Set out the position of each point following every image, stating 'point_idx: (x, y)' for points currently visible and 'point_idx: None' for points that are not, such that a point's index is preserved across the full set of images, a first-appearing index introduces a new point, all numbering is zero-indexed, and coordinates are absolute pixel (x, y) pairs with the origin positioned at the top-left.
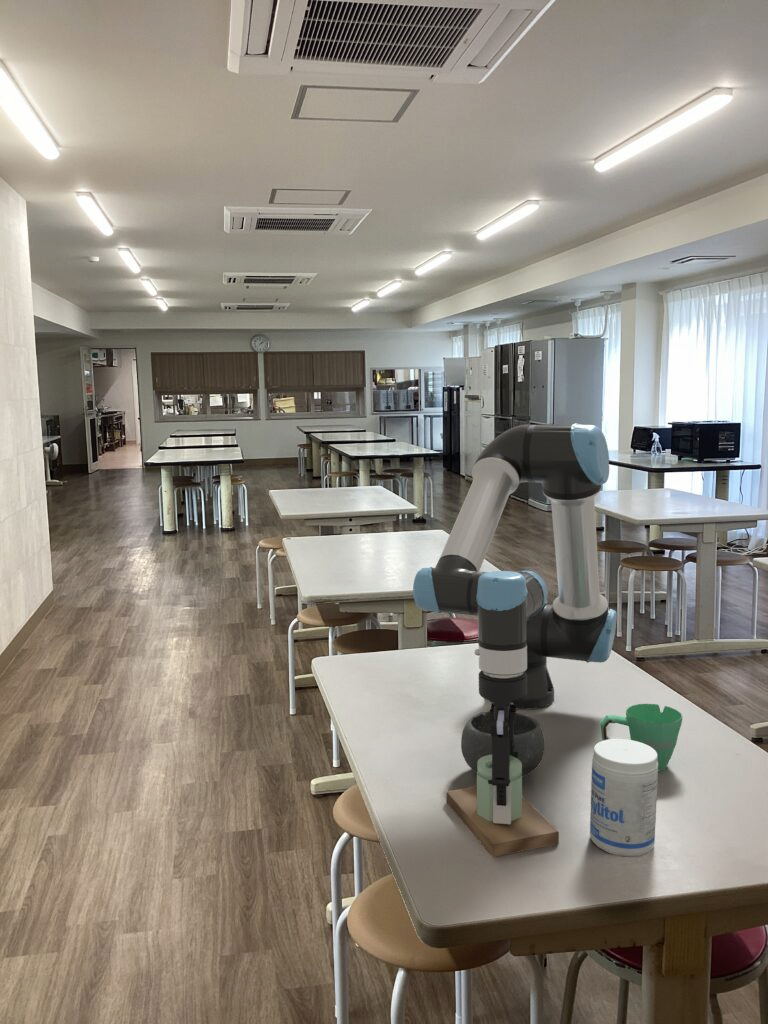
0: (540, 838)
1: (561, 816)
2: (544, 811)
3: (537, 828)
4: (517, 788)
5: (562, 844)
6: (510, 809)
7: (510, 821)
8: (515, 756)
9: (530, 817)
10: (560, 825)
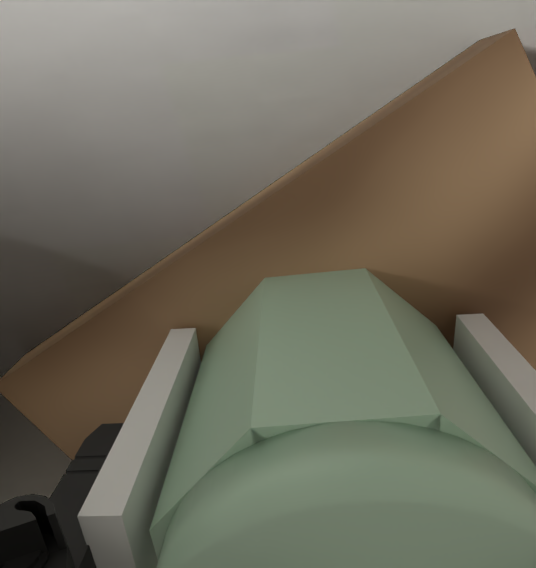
0: None
1: (165, 52)
2: (141, 155)
3: (485, 168)
4: (449, 387)
5: (482, 16)
6: (522, 359)
7: (489, 322)
8: (39, 530)
9: (360, 221)
10: (270, 48)
